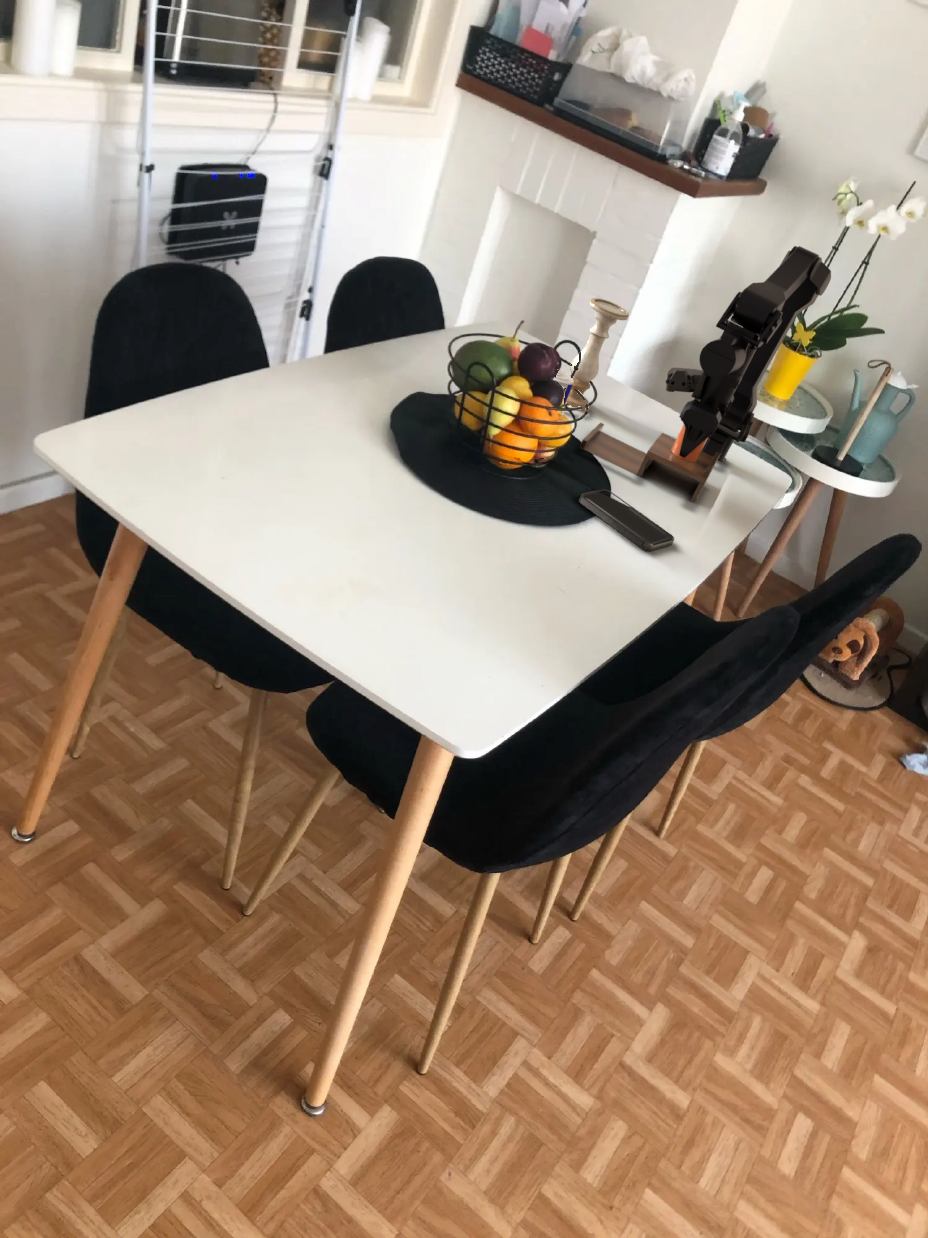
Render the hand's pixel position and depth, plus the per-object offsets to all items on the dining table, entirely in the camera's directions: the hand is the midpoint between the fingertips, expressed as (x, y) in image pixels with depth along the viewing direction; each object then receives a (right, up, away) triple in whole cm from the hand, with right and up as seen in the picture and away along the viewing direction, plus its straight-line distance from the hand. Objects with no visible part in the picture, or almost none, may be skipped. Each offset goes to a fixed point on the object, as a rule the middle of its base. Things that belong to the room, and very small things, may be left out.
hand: (686, 449), depth 175 cm
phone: (-13, -14, -16) cm, 25 cm away
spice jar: (0, -1, +1) cm, 1 cm away
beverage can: (-29, -3, -8) cm, 30 cm away
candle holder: (-19, +11, +19) cm, 29 cm away
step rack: (-7, -3, +5) cm, 9 cm away
